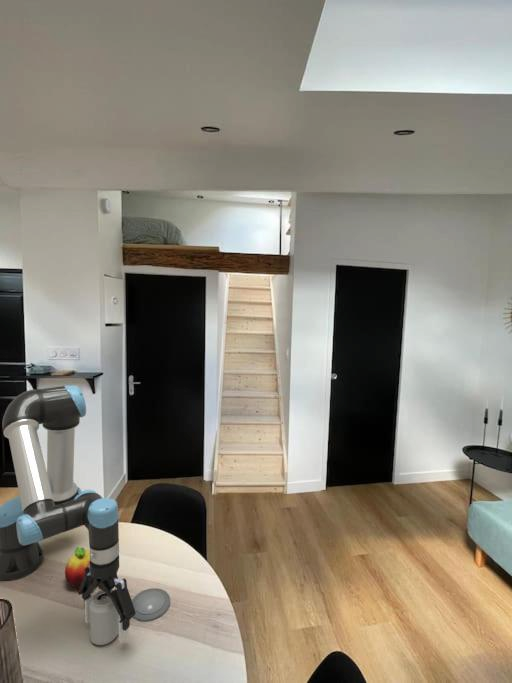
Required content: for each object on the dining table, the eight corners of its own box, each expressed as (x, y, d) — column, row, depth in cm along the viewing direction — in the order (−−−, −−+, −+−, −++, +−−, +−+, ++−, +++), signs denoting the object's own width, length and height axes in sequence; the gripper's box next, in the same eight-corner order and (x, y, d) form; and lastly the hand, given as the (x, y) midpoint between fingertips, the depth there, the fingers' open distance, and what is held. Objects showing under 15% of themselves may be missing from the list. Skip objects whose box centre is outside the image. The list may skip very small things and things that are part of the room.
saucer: (121, 611, 114) (121, 608, 114) (149, 585, 125) (149, 582, 125) (151, 627, 109) (151, 624, 109) (177, 599, 119) (177, 596, 119)
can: (110, 620, 111) (109, 582, 110) (124, 634, 106) (123, 595, 105) (85, 637, 105) (84, 597, 104) (99, 653, 101) (98, 611, 99)
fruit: (69, 598, 119) (68, 568, 118) (61, 578, 127) (60, 550, 126) (104, 582, 126) (104, 554, 125) (94, 565, 134) (94, 538, 133)
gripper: (62, 550, 106) (65, 620, 108) (126, 581, 94) (128, 659, 96) (85, 536, 112) (87, 602, 115) (148, 563, 101) (149, 636, 103)
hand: (106, 628), depth 105 cm, fingers open, 13 cm apart
